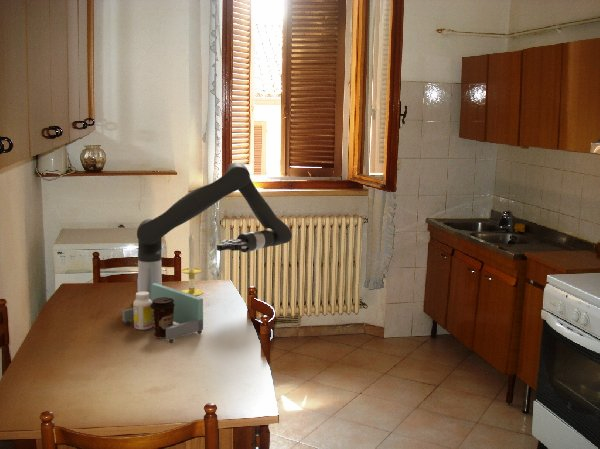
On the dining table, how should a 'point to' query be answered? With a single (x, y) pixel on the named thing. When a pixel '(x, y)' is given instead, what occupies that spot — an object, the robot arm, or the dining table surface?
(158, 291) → the teal panel stand
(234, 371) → the dining table surface
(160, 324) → the coffee cup
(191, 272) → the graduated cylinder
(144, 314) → the supplement bottle
